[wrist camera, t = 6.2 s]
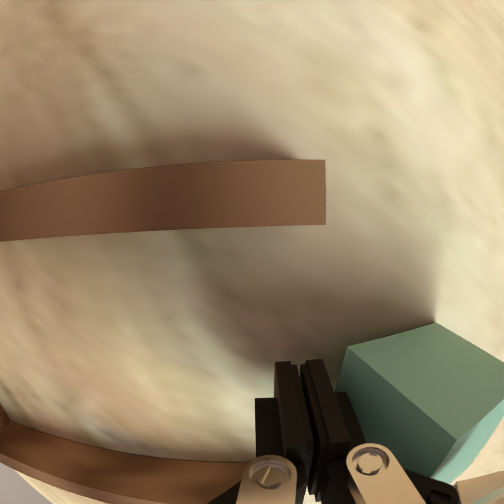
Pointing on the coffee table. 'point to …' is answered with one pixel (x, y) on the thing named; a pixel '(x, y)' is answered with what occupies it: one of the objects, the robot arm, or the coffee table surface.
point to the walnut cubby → (135, 220)
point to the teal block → (425, 398)
